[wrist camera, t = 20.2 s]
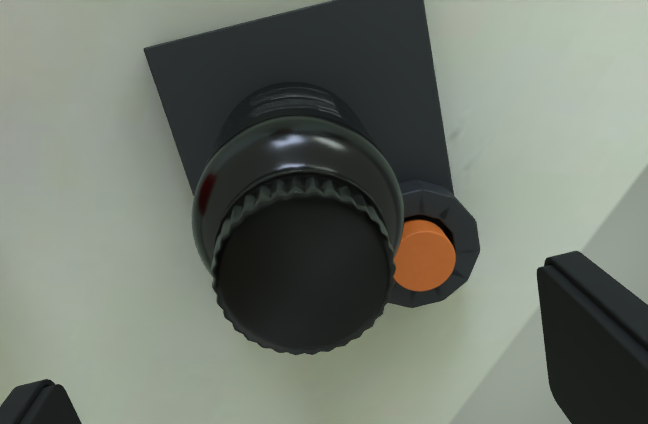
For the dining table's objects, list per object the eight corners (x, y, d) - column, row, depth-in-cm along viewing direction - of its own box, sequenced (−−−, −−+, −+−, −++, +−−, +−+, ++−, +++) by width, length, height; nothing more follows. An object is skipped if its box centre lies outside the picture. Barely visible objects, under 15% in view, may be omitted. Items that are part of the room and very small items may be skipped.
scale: (467, 263, 29) (486, 290, 26) (241, 318, 29) (237, 350, 27) (423, -23, 24) (441, -27, 21) (150, 46, 24) (133, 51, 21)
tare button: (450, 268, 26) (460, 283, 25) (390, 282, 26) (396, 298, 25) (441, 211, 25) (450, 224, 24) (378, 227, 25) (384, 240, 24)
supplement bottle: (191, 180, 25) (117, 318, 14) (266, 48, 23) (251, 85, 12) (317, 249, 27) (342, 423, 15) (396, 131, 25) (490, 232, 14)
